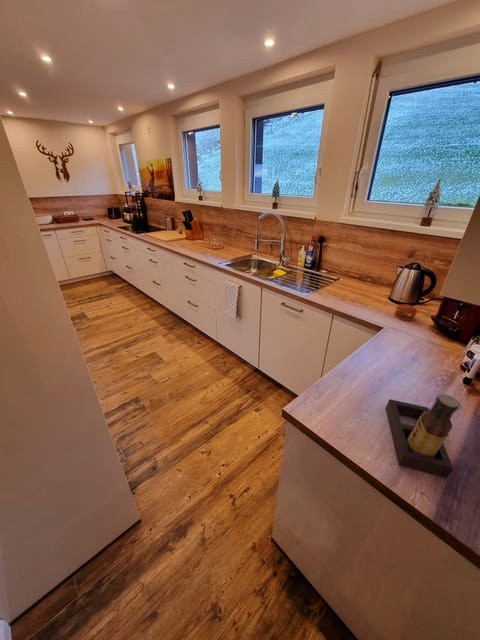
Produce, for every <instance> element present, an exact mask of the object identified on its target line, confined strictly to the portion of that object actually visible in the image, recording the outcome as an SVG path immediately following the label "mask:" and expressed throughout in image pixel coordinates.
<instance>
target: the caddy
mask: <svg viewBox="0 0 480 640" xmlns="http://www.w3.org/2000/svg"><path fill="white" fill-rule="evenodd" d="M426 410H429V407H428V406H422V405H418V404H413V403H408V402H405V401H400V400H396V399H388V401H387V404H386V405H385V412H386V417H387V420H388V425H389V429H390V433H391V438H392V441H393V446H394V450H395V454H396V459H397V463H398V466H400V467H404V468H409V469H411V470H414V471H418V472H422V473H425V474H429V475H432V476H436V477H439V478H444V479H448V477H449V476H450V475H451V474H452V472H453V471H454V466H453V464H452V462H451V461H452V460H451V459H450V457H449V454H448V451H447V449H446V446H445V445H444V442H443V443H442V445H441V446H440V448H439V449H438V451H437V453H436V454H435V455H434V457H433V458H431V457H427V456H424V455H420V454H416V453H412V452H409V448H408V445H407V439H408V438H409V436H410V434H411V432H412V430H413V429H414V427H415V425H410V424H406V423H402V420H401V416H403V417H407V418H411V419H415V420H418V419H419V417H420V416H421V414H422V413H423V412H424V411H426Z"/></svg>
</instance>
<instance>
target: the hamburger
mask: <svg viewBox="0 0 480 640" xmlns="http://www.w3.org/2000/svg"><path fill="white" fill-rule="evenodd" d="M393 311H395V312H394V317H395V318H397V319H398V320H400V321H404V322H405V321H406V322H413V321H414V319H415V316H416V314H418V313H420V312H419V311H418V310H417V308H416V307H414V306H413V305H410V304H406V303H404V304H403V303H402V304H398V305H397V306H396V307H395V308H393Z"/></svg>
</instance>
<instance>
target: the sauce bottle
mask: <svg viewBox="0 0 480 640" xmlns="http://www.w3.org/2000/svg"><path fill="white" fill-rule="evenodd" d="M459 406H460V403H459V401H458V400H457V399H456V398H455V397H453V396H451V395H449V394H446V393H441V394H440V393H439V394H438V395H437V396H436V398H435V402H434V404H433V406H432V407H431V408H430V409H429V408H428V409H429V410H426V411H424V412H423V413H422V414H421V416H420V417H419V419H417V421H416V422H415V425H414V429H413V430H412V432H411V434H410V436H409V438H408V439H406V441H407V445H408V448H409V452H412V453H416V454H420V455H424V456H427V457H431V458H433V457H434V455H435V454H436V453H437V451H438V449H439V448H440V446H441V445H442V443H443V444H444V442H445V440H446V439H447V437H448V435H449V433H450V431H451V430H452V428H453V424H452V420H451V418H452V416H453V414H454V412H456V411H457V410H458V409H459Z"/></svg>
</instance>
